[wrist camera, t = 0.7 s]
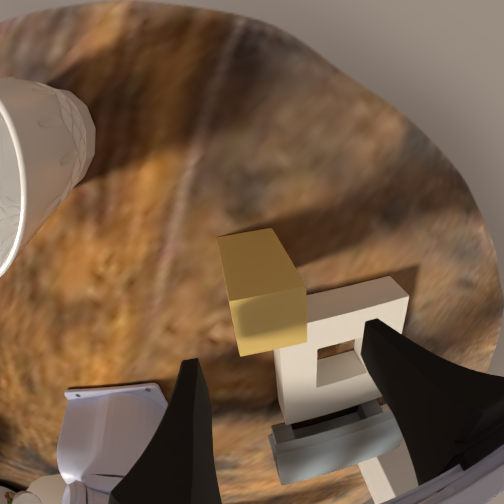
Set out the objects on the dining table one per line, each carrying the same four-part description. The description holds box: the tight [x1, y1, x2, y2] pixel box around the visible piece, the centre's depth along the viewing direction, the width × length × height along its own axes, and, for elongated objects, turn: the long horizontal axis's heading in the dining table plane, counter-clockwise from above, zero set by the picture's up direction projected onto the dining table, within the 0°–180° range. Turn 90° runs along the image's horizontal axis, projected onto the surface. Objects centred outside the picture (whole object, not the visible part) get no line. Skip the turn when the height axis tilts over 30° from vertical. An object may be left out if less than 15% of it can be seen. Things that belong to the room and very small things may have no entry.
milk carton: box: [358, 439, 433, 504], centre depth 29 cm, size 7×7×19 cm
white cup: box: [0, 77, 96, 277], centre depth 11 cm, size 8×8×10 cm
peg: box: [217, 228, 307, 357], centre depth 18 cm, size 4×4×7 cm
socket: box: [273, 276, 409, 425], centre depth 25 cm, size 10×12×3 cm
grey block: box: [268, 399, 404, 485], centre depth 28 cm, size 13×9×7 cm
